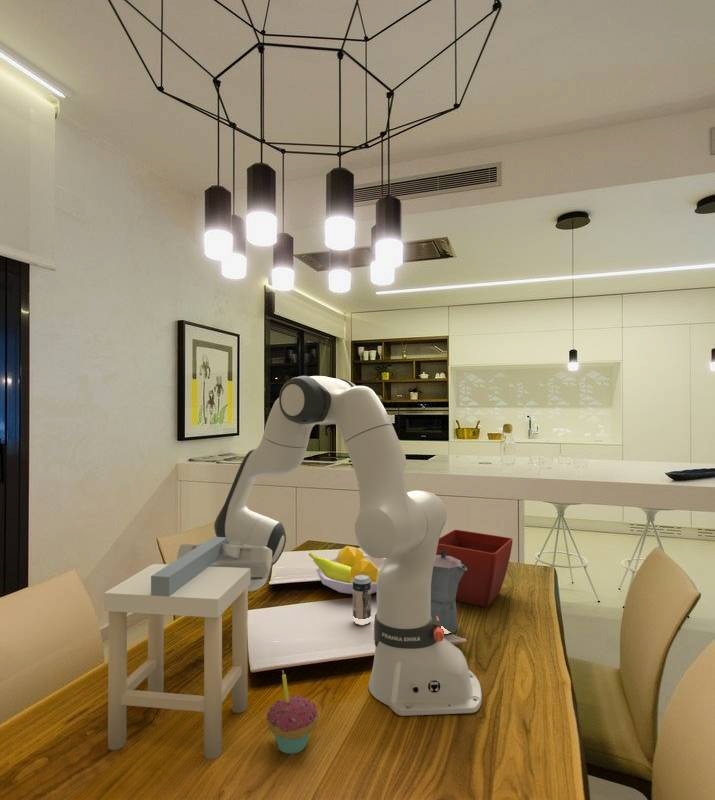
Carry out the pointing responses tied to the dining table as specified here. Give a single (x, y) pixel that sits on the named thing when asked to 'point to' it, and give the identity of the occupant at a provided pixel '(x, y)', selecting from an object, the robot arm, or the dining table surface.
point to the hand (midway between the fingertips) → (212, 547)
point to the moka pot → (445, 589)
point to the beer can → (361, 596)
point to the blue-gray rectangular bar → (186, 567)
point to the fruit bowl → (347, 569)
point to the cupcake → (292, 721)
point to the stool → (193, 599)
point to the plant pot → (478, 564)
